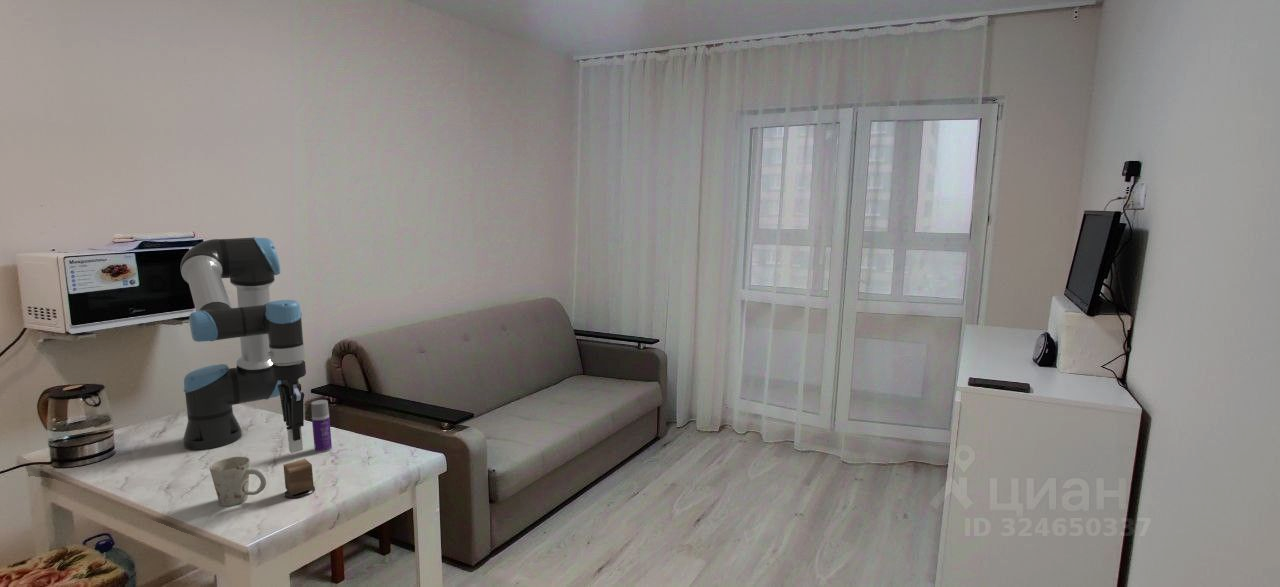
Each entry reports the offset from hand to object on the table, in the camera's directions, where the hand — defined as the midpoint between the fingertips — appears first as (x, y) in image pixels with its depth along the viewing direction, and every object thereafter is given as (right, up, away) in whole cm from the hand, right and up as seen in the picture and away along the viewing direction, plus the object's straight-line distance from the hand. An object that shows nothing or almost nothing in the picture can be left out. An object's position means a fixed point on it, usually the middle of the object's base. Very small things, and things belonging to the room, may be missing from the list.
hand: (296, 450), depth 159 cm
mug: (-12, -12, -2) cm, 17 cm away
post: (0, -11, +2) cm, 11 cm away
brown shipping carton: (0, -10, +2) cm, 10 cm away
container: (-8, -7, +29) cm, 31 cm away
